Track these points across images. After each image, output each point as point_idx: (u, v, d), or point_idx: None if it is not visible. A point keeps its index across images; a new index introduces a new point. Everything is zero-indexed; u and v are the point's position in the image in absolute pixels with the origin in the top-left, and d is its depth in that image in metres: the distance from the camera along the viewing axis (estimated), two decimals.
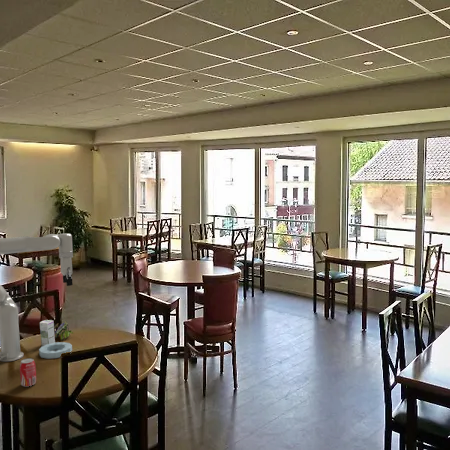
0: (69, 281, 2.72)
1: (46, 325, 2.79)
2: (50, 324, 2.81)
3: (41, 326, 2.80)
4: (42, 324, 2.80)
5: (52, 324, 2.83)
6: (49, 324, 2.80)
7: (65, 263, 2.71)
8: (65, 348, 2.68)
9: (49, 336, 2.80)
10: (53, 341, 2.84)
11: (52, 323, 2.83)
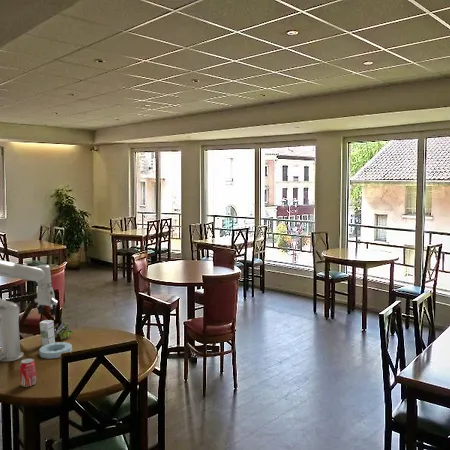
0: None
1: (46, 325, 2.79)
2: (50, 324, 2.81)
3: (41, 326, 2.80)
4: (42, 324, 2.80)
5: (52, 324, 2.83)
6: (49, 324, 2.80)
7: None
8: (65, 348, 2.68)
9: (49, 336, 2.80)
10: (53, 341, 2.84)
11: (52, 323, 2.83)
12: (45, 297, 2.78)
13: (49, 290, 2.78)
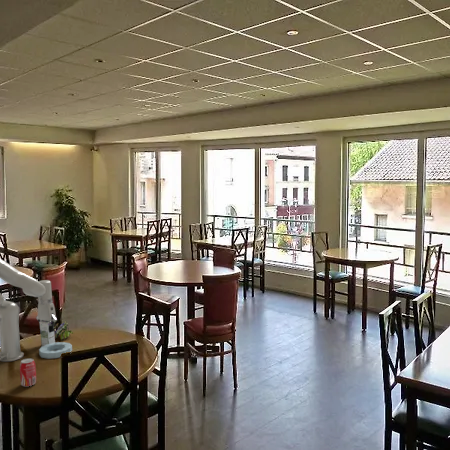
0: None
1: (46, 325, 2.79)
2: None
3: (41, 326, 2.80)
4: (42, 324, 2.80)
5: None
6: None
7: None
8: (65, 348, 2.68)
9: (49, 336, 2.80)
10: (53, 341, 2.84)
11: None
12: (46, 313, 2.79)
13: (50, 306, 2.79)
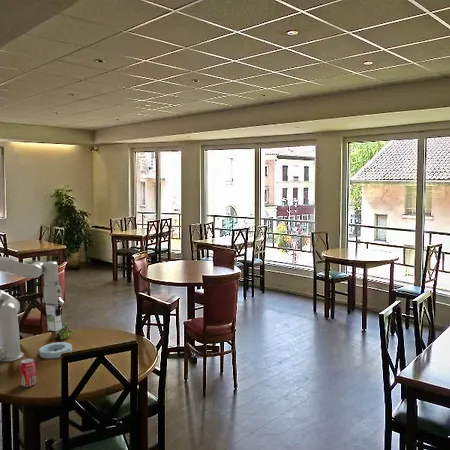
0: None
1: (53, 308, 2.65)
2: None
3: (48, 310, 2.66)
4: (48, 308, 2.65)
5: None
6: None
7: None
8: (65, 348, 2.68)
9: (55, 320, 2.66)
10: (60, 325, 2.69)
11: None
12: (52, 295, 2.64)
13: (56, 288, 2.64)
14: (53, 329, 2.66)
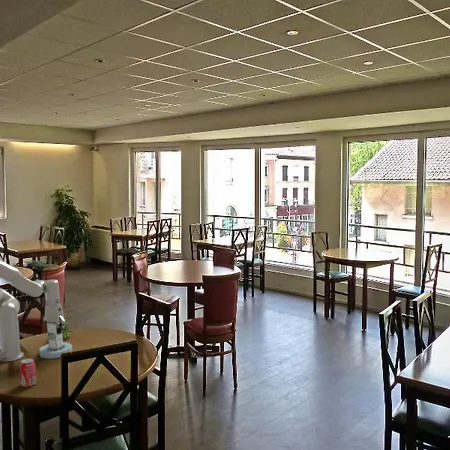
0: None
1: (54, 327, 2.66)
2: None
3: (49, 328, 2.67)
4: (49, 326, 2.67)
5: None
6: None
7: None
8: (65, 348, 2.68)
9: (57, 338, 2.67)
10: (61, 343, 2.71)
11: None
12: (53, 314, 2.65)
13: (57, 306, 2.65)
14: (54, 347, 2.67)
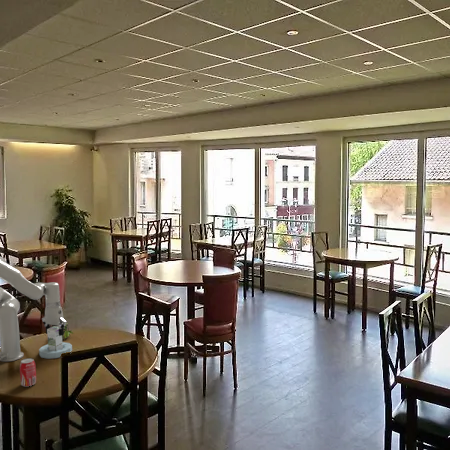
0: None
1: (54, 332, 2.66)
2: (58, 331, 2.68)
3: (49, 333, 2.67)
4: (49, 331, 2.67)
5: None
6: (57, 331, 2.67)
7: None
8: (65, 348, 2.68)
9: (56, 344, 2.67)
10: None
11: None
12: (53, 316, 2.65)
13: (58, 309, 2.65)
14: None
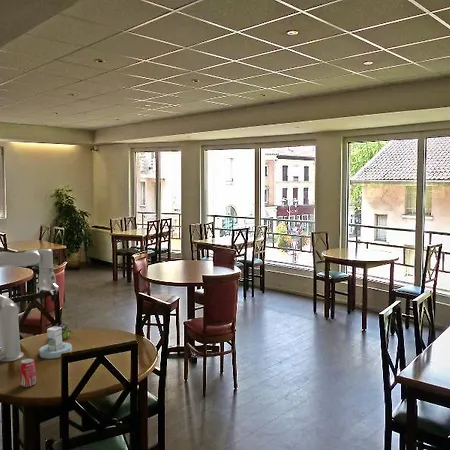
0: None
1: (54, 332, 2.66)
2: (58, 331, 2.68)
3: (49, 333, 2.67)
4: (49, 331, 2.67)
5: (60, 331, 2.70)
6: (57, 331, 2.67)
7: None
8: (65, 348, 2.68)
9: (56, 344, 2.67)
10: None
11: (60, 330, 2.70)
12: (46, 282, 2.69)
13: (50, 275, 2.69)
14: None
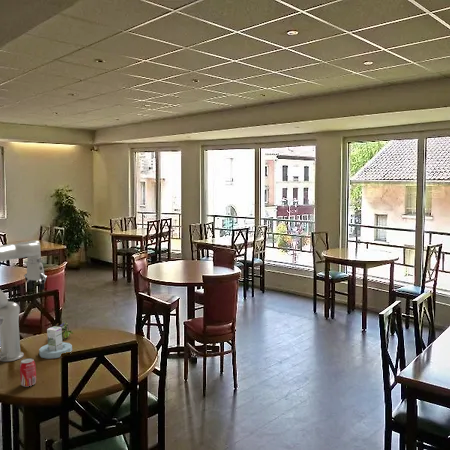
0: None
1: (54, 332, 2.66)
2: (58, 331, 2.68)
3: (49, 333, 2.67)
4: (49, 331, 2.67)
5: (60, 331, 2.70)
6: (57, 331, 2.67)
7: None
8: (65, 348, 2.68)
9: (56, 344, 2.67)
10: None
11: (60, 330, 2.70)
12: (34, 272, 2.83)
13: (38, 265, 2.83)
14: None
